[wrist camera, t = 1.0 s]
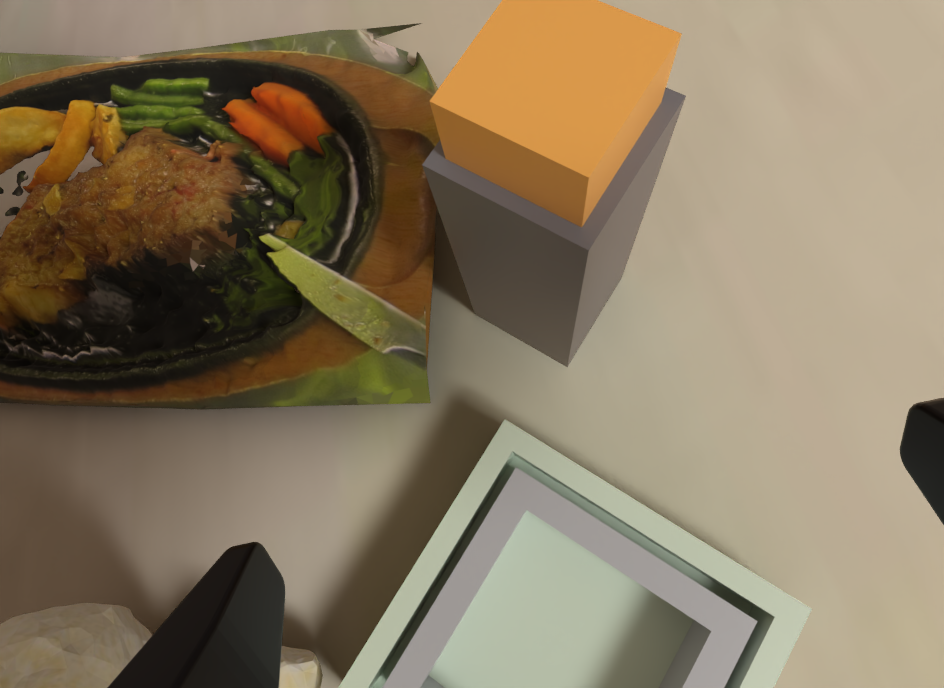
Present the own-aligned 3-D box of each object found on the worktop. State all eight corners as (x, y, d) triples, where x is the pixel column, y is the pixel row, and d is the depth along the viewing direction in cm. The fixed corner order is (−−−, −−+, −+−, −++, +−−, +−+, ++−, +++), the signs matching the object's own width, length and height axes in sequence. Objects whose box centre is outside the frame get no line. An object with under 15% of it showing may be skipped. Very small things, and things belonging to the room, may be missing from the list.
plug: (621, 277, 24) (710, 26, 11) (566, 367, 23) (597, 203, 10) (529, 230, 25) (517, -49, 12) (474, 314, 24) (402, 108, 11)
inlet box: (779, 596, 20) (813, 609, 17) (622, 911, 18) (635, 976, 16) (508, 427, 22) (504, 418, 20) (348, 688, 21) (321, 713, 18)
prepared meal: (-258, 385, 23) (-122, 18, 28) (-159, 398, 27) (-52, 70, 31) (420, 417, 21) (452, 5, 25) (434, 427, 24) (460, 63, 28)
